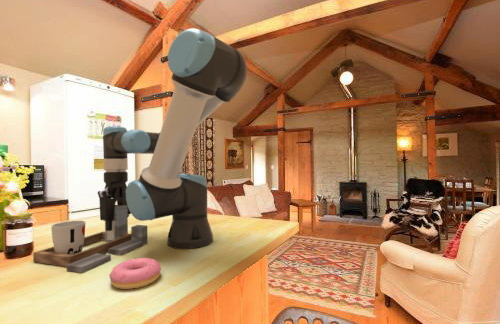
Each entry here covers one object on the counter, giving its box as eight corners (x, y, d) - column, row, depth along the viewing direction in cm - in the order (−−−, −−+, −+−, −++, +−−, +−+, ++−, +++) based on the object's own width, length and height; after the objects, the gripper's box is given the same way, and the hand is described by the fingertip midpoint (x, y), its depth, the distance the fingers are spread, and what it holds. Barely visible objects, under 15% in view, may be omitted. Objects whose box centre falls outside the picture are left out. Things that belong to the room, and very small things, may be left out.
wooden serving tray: (136, 240, 93) (136, 205, 93) (69, 266, 69) (69, 221, 69) (106, 237, 97) (105, 204, 97) (33, 261, 73) (32, 218, 73)
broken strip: (148, 243, 89) (148, 225, 89) (81, 273, 65) (81, 249, 65) (136, 242, 91) (136, 224, 91) (66, 271, 67) (66, 247, 67)
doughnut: (166, 283, 60) (166, 265, 60) (111, 297, 54) (111, 277, 54) (155, 267, 69) (155, 251, 69) (107, 278, 63) (107, 260, 63)
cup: (68, 264, 71) (68, 227, 71) (44, 262, 73) (43, 226, 73) (92, 254, 79) (92, 221, 79) (69, 252, 81) (69, 220, 81)
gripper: (125, 170, 102) (125, 231, 102) (86, 172, 86) (86, 244, 86) (141, 170, 100) (142, 232, 100) (104, 172, 83) (105, 246, 83)
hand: (116, 237), depth 93 cm, fingers closed on wooden serving tray, 4 cm apart
